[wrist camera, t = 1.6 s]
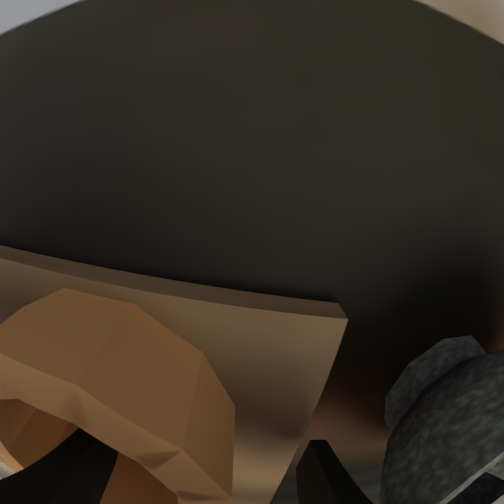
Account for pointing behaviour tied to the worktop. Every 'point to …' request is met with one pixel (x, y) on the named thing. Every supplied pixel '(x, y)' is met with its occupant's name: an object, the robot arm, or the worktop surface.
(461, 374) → the mortar and pestle
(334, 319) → the shelf plate
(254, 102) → the worktop surface
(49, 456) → the robot arm
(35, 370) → the orange notched ring
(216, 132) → the worktop surface
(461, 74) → the worktop surface
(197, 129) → the worktop surface
